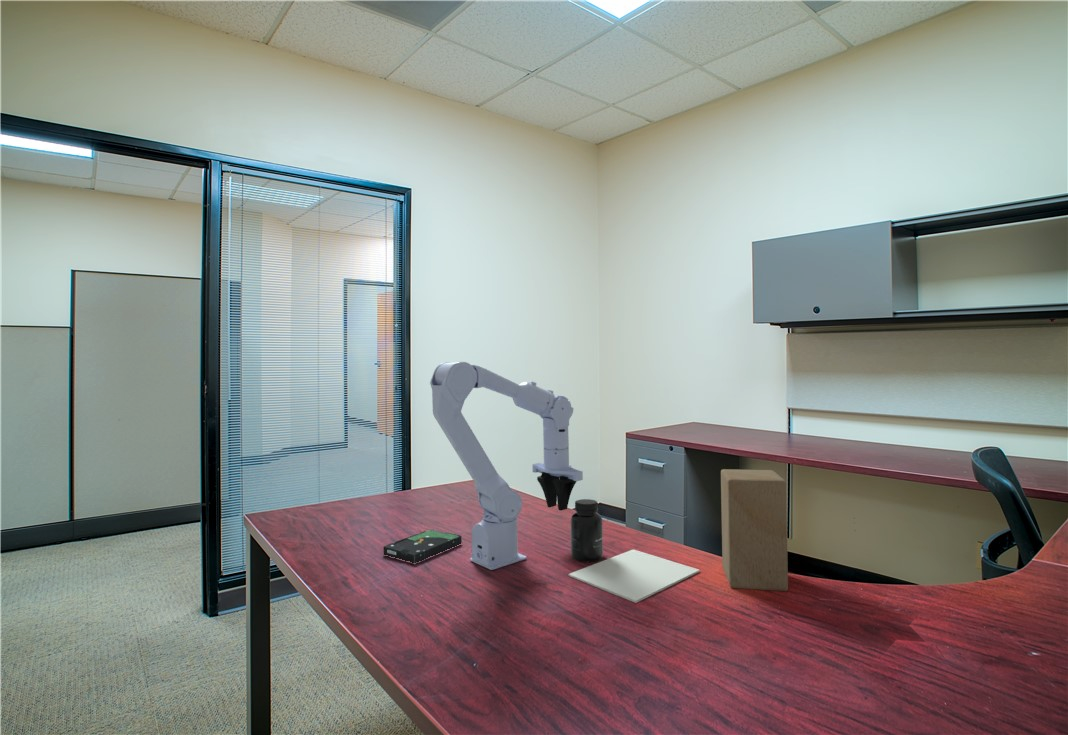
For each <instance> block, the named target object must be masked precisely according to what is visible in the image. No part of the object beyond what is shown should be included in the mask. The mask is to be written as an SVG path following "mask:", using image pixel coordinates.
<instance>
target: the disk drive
mask: <svg viewBox="0 0 1068 735" xmlns="http://www.w3.org/2000/svg"><path fill="white" fill-rule="evenodd" d="M462 539H463V538H462V535H460V534H456V533H452V532H451V533H450V532H447V531H445V532H442V531H437V530H435V529H434V528H433V529H429V530H424V531H422V532H419V533H416V534H414V535H413V534H412V535H411V536H408V537H405V538H402V539H399V540H397V541H396V540H395V541H394V542H391V543H389V544H386V545H384V546H383V556H384V555H388V556H391V557H395V558H399V559H402V560H405V561H410V562H412V563H416V562H419V561H422V560H424V559H426V558H428V557H430V556H433V555H436V554H438V553H440V552H443V551H445V550H447V549H450V548H452V547H455V546H457V545H459V544H461V543H462V544H463V542H462Z"/></svg>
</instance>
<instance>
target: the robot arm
mask: <svg viewBox="0 0 1068 735" xmlns="http://www.w3.org/2000/svg"><path fill="white" fill-rule="evenodd" d="M429 385H430V388H431V395H432V397H431V398H432V401H431V402H432V415H433V416H434V419H435V420H436V422H437V424H438V425H439V427H440V428H441V430H442V431H443V433H444V435H445V436H446V438H447V440H448V442H449V443H450V444H451V446H452V448H453V450H454V451H455V452H456V454H457V456H458V457H459V459H460V461H461V462H462V464H463V466H464V467H465V469H466V471H467V473H468V474H469V475H470V477H471V479H472V480H473V482H474V489H475V491H476V493H477V496H478V497H477V498H478V503H479V506H480V508H481V509H483V516H482V517H483V519H482V520H481V521H479V522H477V523H476V524H474V525H473V527H472V528H471V557H470V558H469V561H471V562H473V563H475V564H477V565H479V566H481V567H484V568H486V569H488V570H489V571H493V570H496V569H500V568H503V567H506V566H510V565H511V564H515V563H519V562H520V561H525V560H527V556H526V555H524V554H521V553H519V552H518V551H519V550H518V516H519V514H520V513H521V511H522V509H523V500H522V497H521V495H520V494H519V493H518V491H515V490H514V489H512V487H510V485H509V483H507V481H506V480H505V479H504V478H503V477H502V476H501V475H500V474H499V473H498V472H497V470H496V468H495V466H494V465H493V463H492V461H491V460H490V458H489V456H488V455H487V453H486V452H485V450H484V448H483V446H482V445H481V443H480V442H479V440H478V438H477V437H476V435H475V433H474V432H473V430H472V428H471V426H470V424H469V423H468V421H467V420H466V418H465V416H464V415H463V413H462V410H463V407H464V404H465V401H466V400H467V398H468V397H469V395H470V394H471V392H472V391H473V389H481V388H485V389H487V390H489V391H492V392H496V393H498V394H501V395H504V396H507V397H509V398H512V400H513V403H514V405H515V406H516V407H518V408H521V409H523V410H526V411H528V412H531V413H533V414H535V415H537V416H539V417H540V418H541V419H542V432H543V433H542V437H543V438H542V439H543V442H542V443H543V463H541V462H538V463H537V462H536V463H532V466H531V467H532V473H535V474H536V473H539V474H540V476H537V477H536V480H537V482H538V484H539V485H540V487H541V489H542V492H543V495H544V498H545V501H546V506H547V508H554V507H556V506H557V509H558V511H564V510H567V509H568V506H569V500H570V496H571V494H572V493H573V492H572V491H573V489H574V487H575V485H576V484H577V482H579V481H580V482H581V481H583V478H584V476H583V470H579V469H576V468H573V467H572V465H570V452H569V445H570V444H569V442H570V441H569V439H570V438H569V426H570V419H571V417H572V416H573V414H574V407H572V404H571V401H570V400H569V399H568V397H566V396H564V395H555V394H554V390H552V389H544V388H541V387H539V386H537V385H538V384H537V382H536V381H533V380H532V381H531V380H529V381H523V382H521V383H520V384H518V383H516V382H514V381H512V380H509V379H508V378H505V377H503V376H502V375H499V374H498V373H495V372H493V371H491V370H489V369H487V368H484V367H482V366H479V365H475V364H471V363H469V362H467V361H458V362H449V361H446V362H445V361H444V362H442V363H439V364H438V365H437V366H436V368H435V369H434V372H433V373H432V376H431V378H430V382H429Z"/></svg>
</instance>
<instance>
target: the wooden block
mask: <svg viewBox="0 0 1068 735" xmlns="http://www.w3.org/2000/svg"><path fill="white" fill-rule="evenodd" d="M720 500H721V501H720V504H721V506H720V507H721V508H720V509H721V511H720V512H721V553H722V555H721V557H722V560H721V561H722V570H723V571H724V574H725V577H726V579H727V583H728V585H729V587H730V588H732V589H743V590H744V589H745V590H747V589H748V590H762V591H763V590H764V591H780V592H781V591H782V592H788V589H789V579H788V578H789V576H788V575H789V572H788V571H789V570H788V568H789V567H788V564H789V562H788V513H787V512H788V511H787V505H788V504H787V481H786V480H785V479H784V478H783V477H781V476H780V475H779V474H778V473H777V472H775V471H774V470H773V469H736V468H735V469H732V468H731V469H730V468H729V469H726V468H723V469H721V470H720Z"/></svg>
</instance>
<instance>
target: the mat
mask: <svg viewBox="0 0 1068 735" xmlns="http://www.w3.org/2000/svg"><path fill="white" fill-rule="evenodd" d="M700 572H701V570H700V569H698V568H695V567H692V566H688V565H686V564H682V563H679V562H675V561H672V560H669V559H666V558H663V557H659V556H656V555H653V554H650V553H647V552H643V551H639V550H637V549H634V548H633V549H631V550H627V551H625V552H622V553H620V554H617V555H615V556H613V557H610V558H607V559H605V560H602V561H601V560H600V561H598V562H597V563H594V564H592V565H588V566H586V567H584V568H580V569H578V570H575V571H573V572H570V573H568V577H570V578H573V579H575V580H578V581H580V582H583V583H585V584H587V585H590V586H592V587H595V588H597V589H600V590H602V591H605V592H607V593H610V594H613V595H615V596H617V597H620V598H623V599H625V600H627V601H630V602H633V603H635V604H637V603H639V602H641V601H643V600H646V599H647V598H649V597H651V596H653V595H655V594H658V593H659V592H661V591H664V590H666V589H667V588H669V587H672V586H674V585H676V584H678V583H680V582H682V581H684V580H686V579H688V578H690V577H693V576H694V575H697V574H698V573H700Z"/></svg>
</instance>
